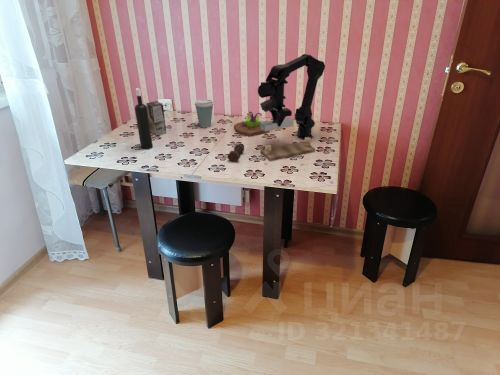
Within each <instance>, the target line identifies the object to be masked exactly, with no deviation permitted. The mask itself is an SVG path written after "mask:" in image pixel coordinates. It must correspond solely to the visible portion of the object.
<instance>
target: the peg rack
mask: <svg viewBox="0 0 500 375" xmlns="http://www.w3.org/2000/svg"><path fill="white" fill-rule="evenodd" d="M311 140H312V137H305V139H304V141H301V142H297V143H296V142H295V143H291V144H286V145H281V146H276V147H272V145H271V144H265V145H264V149H260V154H261V155H263V157H264V158H265V159H267V160H268V161H269V162H272V161H277V160H282V159H285V158H292V157H295V156H300V155H306V154H310V153H315V152H316V148H315V147H313V146H311V143H312V142H311Z"/></svg>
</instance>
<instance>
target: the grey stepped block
mask: <svg viewBox="0 0 500 375" xmlns="http://www.w3.org/2000/svg"><path fill="white" fill-rule="evenodd" d="M260 121H261V122H260V128H261V129H262V130H264V131H273V130H276V129H277V130H278V129H283V128H289V127H294V119H292V118H290V117H285V119H284V120H283V122H282V124H281V126H280V127H278V123H277V120H273V119H272V120H260Z"/></svg>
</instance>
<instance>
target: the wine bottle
mask: <svg viewBox="0 0 500 375" xmlns="http://www.w3.org/2000/svg"><path fill="white" fill-rule="evenodd" d="M135 94H136V95H135V96H136V99H137V104H136V105H135V106H134V112H135V118H136V124H137V125H136V126H137V130H138V131H137V132H138V136H139V142H140V148H141V149H142V150H150V149H153V147H154V145H153V140H152V139H153V138H152V132H151V131H150V124H149V118H148V111H147V106H146V104H145V103H143V100H142V99H143V98H142V92H141V88H140V87H136V88H135Z"/></svg>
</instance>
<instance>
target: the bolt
mask: <svg viewBox="0 0 500 375" xmlns="http://www.w3.org/2000/svg"><path fill="white" fill-rule="evenodd" d="M244 151H245V144H244V143H241V142H240V143H237V144H236V145H235V146H234V148H233V150H230V151H229V153H228V154H227V159H228V160H229V162H231V163H237V162H238V161H239V159H240V158H241V156H240V155H241V154H242V153H244Z"/></svg>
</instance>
